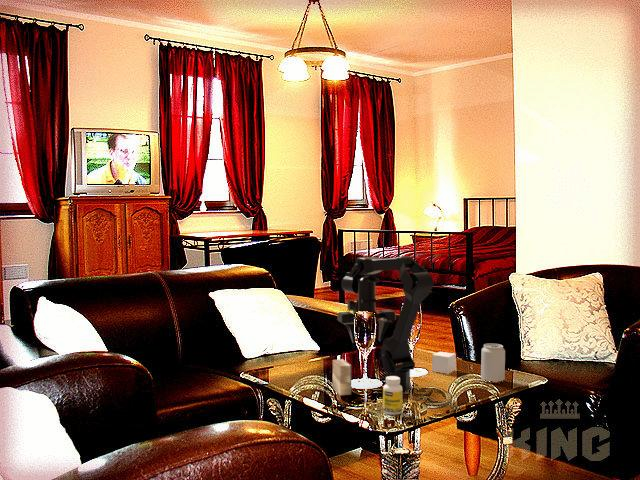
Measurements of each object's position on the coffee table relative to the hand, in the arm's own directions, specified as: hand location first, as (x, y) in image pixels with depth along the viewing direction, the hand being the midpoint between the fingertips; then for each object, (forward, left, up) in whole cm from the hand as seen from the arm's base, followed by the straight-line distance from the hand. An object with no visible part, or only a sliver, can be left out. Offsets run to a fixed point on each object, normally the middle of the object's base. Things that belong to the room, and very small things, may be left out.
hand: (366, 342), depth 227 cm
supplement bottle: (-21, +28, -12) cm, 37 cm away
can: (-37, -17, -12) cm, 43 cm away
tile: (0, +17, -12) cm, 21 cm away
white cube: (-19, -21, -12) cm, 31 cm away
